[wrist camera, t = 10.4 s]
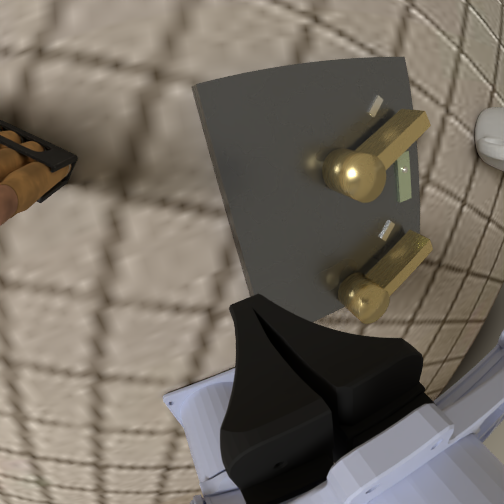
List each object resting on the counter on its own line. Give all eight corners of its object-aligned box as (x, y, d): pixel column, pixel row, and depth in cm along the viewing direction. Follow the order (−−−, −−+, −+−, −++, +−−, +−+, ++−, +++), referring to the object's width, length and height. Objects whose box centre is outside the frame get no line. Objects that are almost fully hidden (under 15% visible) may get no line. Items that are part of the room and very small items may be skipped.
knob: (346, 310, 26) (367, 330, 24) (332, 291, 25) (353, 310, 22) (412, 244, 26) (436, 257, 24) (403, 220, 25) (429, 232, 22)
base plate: (408, 260, 29) (422, 269, 28) (260, 331, 26) (270, 346, 24) (391, 57, 20) (409, 56, 19) (191, 87, 17) (198, 83, 15)
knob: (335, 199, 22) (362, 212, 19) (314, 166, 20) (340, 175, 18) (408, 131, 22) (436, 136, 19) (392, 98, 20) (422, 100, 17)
